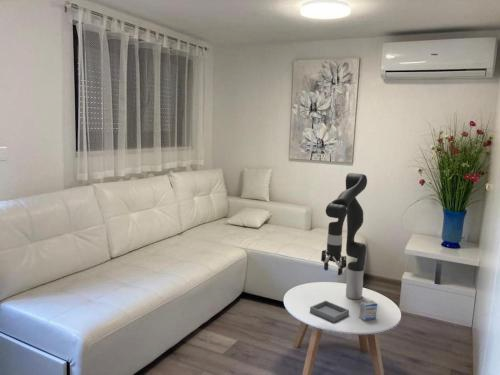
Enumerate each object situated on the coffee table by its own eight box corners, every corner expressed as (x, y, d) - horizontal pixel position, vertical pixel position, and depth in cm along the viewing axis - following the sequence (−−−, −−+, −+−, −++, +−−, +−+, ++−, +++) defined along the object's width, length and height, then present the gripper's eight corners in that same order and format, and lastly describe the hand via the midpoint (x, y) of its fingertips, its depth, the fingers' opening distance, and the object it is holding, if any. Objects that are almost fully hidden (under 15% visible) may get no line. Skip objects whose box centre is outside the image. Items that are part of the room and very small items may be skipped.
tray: (325, 305, 227) (325, 300, 226) (348, 315, 216) (349, 310, 215) (309, 312, 218) (310, 306, 217) (333, 322, 206) (334, 317, 206)
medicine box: (364, 321, 210) (365, 305, 208) (358, 317, 214) (360, 302, 212) (376, 319, 213) (377, 303, 212) (370, 315, 217) (371, 300, 216)
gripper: (350, 244, 203) (348, 274, 206) (328, 238, 214) (326, 267, 216) (341, 247, 198) (339, 278, 201) (319, 240, 209) (317, 270, 212)
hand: (332, 272), depth 209 cm, fingers open, 8 cm apart
